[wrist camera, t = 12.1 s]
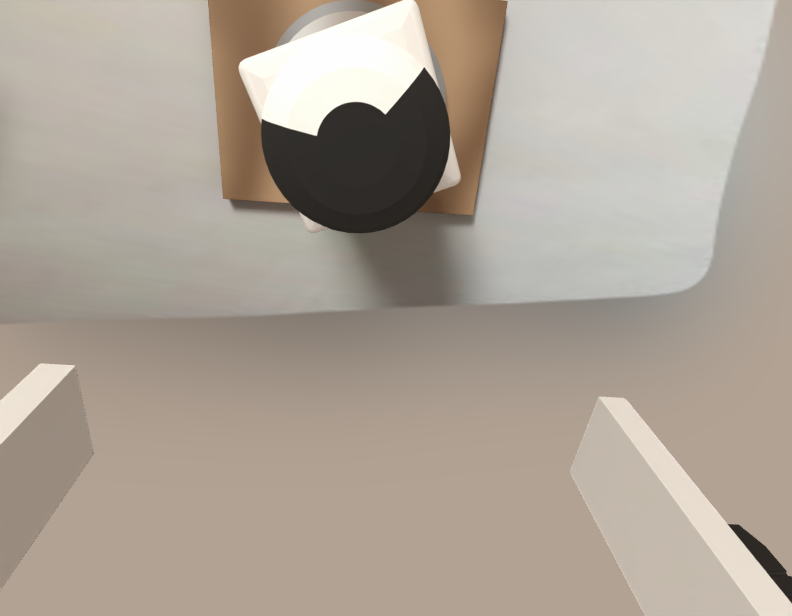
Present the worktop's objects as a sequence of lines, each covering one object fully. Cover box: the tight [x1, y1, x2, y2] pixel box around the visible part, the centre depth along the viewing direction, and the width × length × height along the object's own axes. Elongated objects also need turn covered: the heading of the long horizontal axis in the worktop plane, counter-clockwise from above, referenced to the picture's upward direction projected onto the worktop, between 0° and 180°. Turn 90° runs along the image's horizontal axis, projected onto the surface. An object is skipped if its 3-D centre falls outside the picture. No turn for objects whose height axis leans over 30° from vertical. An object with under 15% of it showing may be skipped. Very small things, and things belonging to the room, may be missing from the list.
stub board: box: [208, 0, 508, 215], centre depth 27 cm, size 16×12×4 cm
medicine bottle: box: [238, 0, 461, 233], centre depth 20 cm, size 7×7×12 cm
